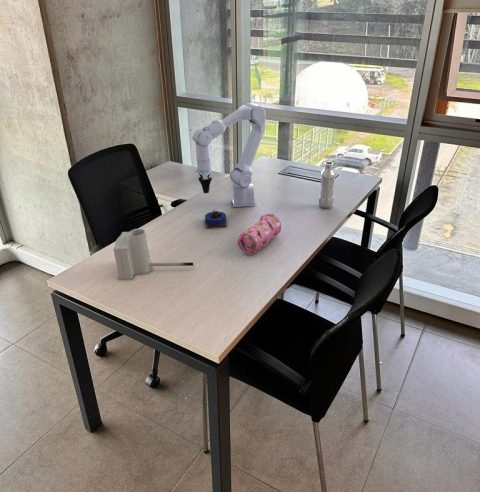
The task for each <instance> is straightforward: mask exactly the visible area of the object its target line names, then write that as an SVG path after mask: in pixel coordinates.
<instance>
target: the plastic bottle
mask: <svg viewBox="0 0 480 492" xmlns="http://www.w3.org/2000/svg"><path fill="white" fill-rule="evenodd" d="M335 180H336V172H335V170H334V163H333V162H332V161H325V162H324V166H323V170H322V171H321V173H320V193H319V197H318V206H319V207H320V208H325V209H329V208H331V207H332V206H333V204H334V184H335Z"/></svg>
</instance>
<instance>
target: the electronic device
mask: <svg viewBox="0 0 480 492" xmlns="http://www.w3.org/2000/svg"><path fill="white" fill-rule="evenodd" d="M113 254H114V259H115V262H116V263H115V264H116V268H117V269H116V270H117V274H118V278H119V280H132V279H133V278H134V276H135V275H144V274H147V273H150V272H151V271H152V267H194V262H191V261H190V262H152V259H151V257H150V251H149V244H148V239H147V231H146V230H145V229H143V228H134V229H131V230H130V231H122V232H121V234H120V235H119V236H118V237H117V238H116V240H115V245H114V247H113Z"/></svg>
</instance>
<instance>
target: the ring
mask: <svg viewBox="0 0 480 492" xmlns="http://www.w3.org/2000/svg"><path fill="white" fill-rule="evenodd" d="M217 211H218V210H217ZM204 221H205V224H206V225H207V224H208V225H213V226H214V225H221V224H224V223H225V222H227V215H226V213H225V212H223V211H218V218H213V211H210V212H207V213H206V214H205V215H204Z"/></svg>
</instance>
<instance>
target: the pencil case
mask: <svg viewBox="0 0 480 492" xmlns="http://www.w3.org/2000/svg"><path fill="white" fill-rule="evenodd" d="M281 231H282V223H281V220H280V218H279V217H278V215H275V214H274V213H265V214H263V215H260V217H259V220H258V221H257V222H255V223H254V224H253V225H251V226H250V227H249V228H246V229H245V230H244V231H242V232H241V233H239V236H238V238H237V247H238V248H239V249H240V250H241V251H242V252H243V253H244V254H247V255H256V254H257V253H258V252H259V251H260V250H261V249H263V248H265V247H266V246H267V245H268V244H270V243H271V242H272V241H273V240H274V239H275V238H276V237H277V235H278V234H279V233H281Z"/></svg>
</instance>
